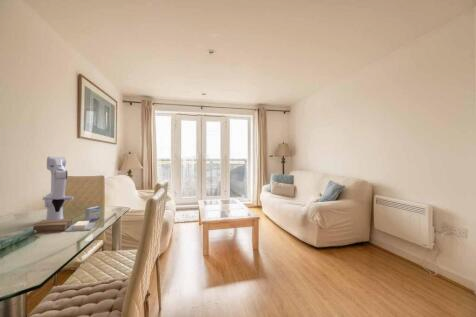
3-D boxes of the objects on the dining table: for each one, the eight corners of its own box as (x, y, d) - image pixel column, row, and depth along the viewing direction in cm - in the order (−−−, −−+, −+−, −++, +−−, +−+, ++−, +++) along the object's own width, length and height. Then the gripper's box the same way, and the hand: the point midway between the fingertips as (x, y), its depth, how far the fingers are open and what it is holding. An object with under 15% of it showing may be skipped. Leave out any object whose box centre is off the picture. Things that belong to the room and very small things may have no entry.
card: (89, 220, 132) (89, 223, 132) (78, 221, 130) (77, 224, 130) (85, 225, 124) (85, 228, 124) (73, 225, 122) (73, 229, 122)
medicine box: (89, 221, 138) (90, 209, 138) (84, 220, 139) (85, 208, 139) (99, 218, 146) (100, 206, 146) (94, 217, 147) (95, 205, 147)
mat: (72, 224, 131) (73, 223, 131) (96, 223, 136) (96, 222, 136) (64, 231, 118) (64, 230, 118) (90, 230, 123) (90, 229, 123)
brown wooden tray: (43, 226, 124) (43, 220, 124) (71, 224, 130) (71, 218, 130) (33, 233, 113) (33, 226, 113) (64, 231, 119) (65, 224, 119)
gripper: (40, 190, 119) (39, 213, 119) (71, 190, 125) (69, 212, 125) (46, 188, 125) (44, 210, 125) (75, 189, 131) (73, 209, 131)
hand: (57, 211), depth 125 cm, fingers closed
